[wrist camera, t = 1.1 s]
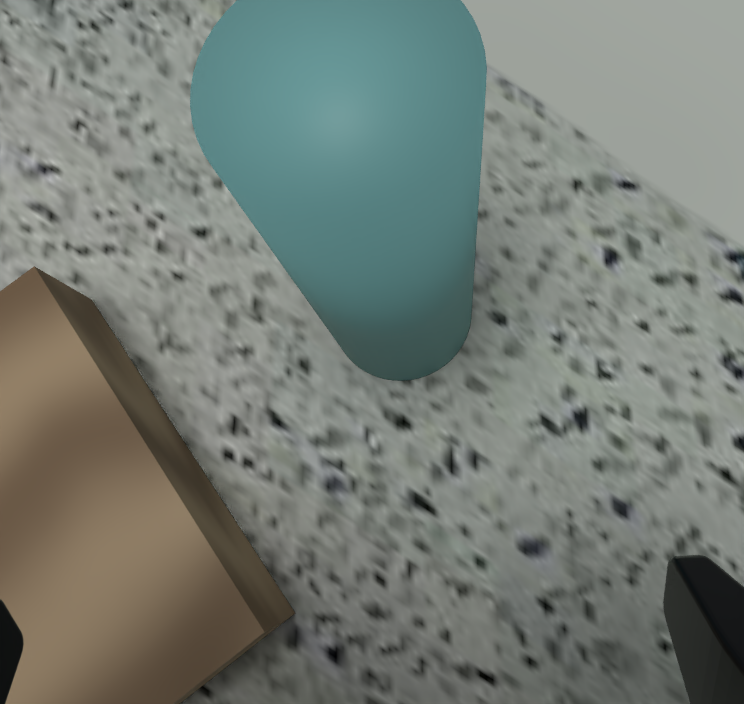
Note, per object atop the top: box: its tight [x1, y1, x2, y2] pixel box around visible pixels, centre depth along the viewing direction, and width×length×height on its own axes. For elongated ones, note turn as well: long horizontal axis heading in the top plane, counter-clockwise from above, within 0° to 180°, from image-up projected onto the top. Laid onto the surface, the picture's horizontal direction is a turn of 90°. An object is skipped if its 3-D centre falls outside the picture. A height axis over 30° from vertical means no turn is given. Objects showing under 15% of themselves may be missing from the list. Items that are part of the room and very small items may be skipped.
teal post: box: [190, 0, 487, 381], centre depth 17 cm, size 5×5×13 cm
